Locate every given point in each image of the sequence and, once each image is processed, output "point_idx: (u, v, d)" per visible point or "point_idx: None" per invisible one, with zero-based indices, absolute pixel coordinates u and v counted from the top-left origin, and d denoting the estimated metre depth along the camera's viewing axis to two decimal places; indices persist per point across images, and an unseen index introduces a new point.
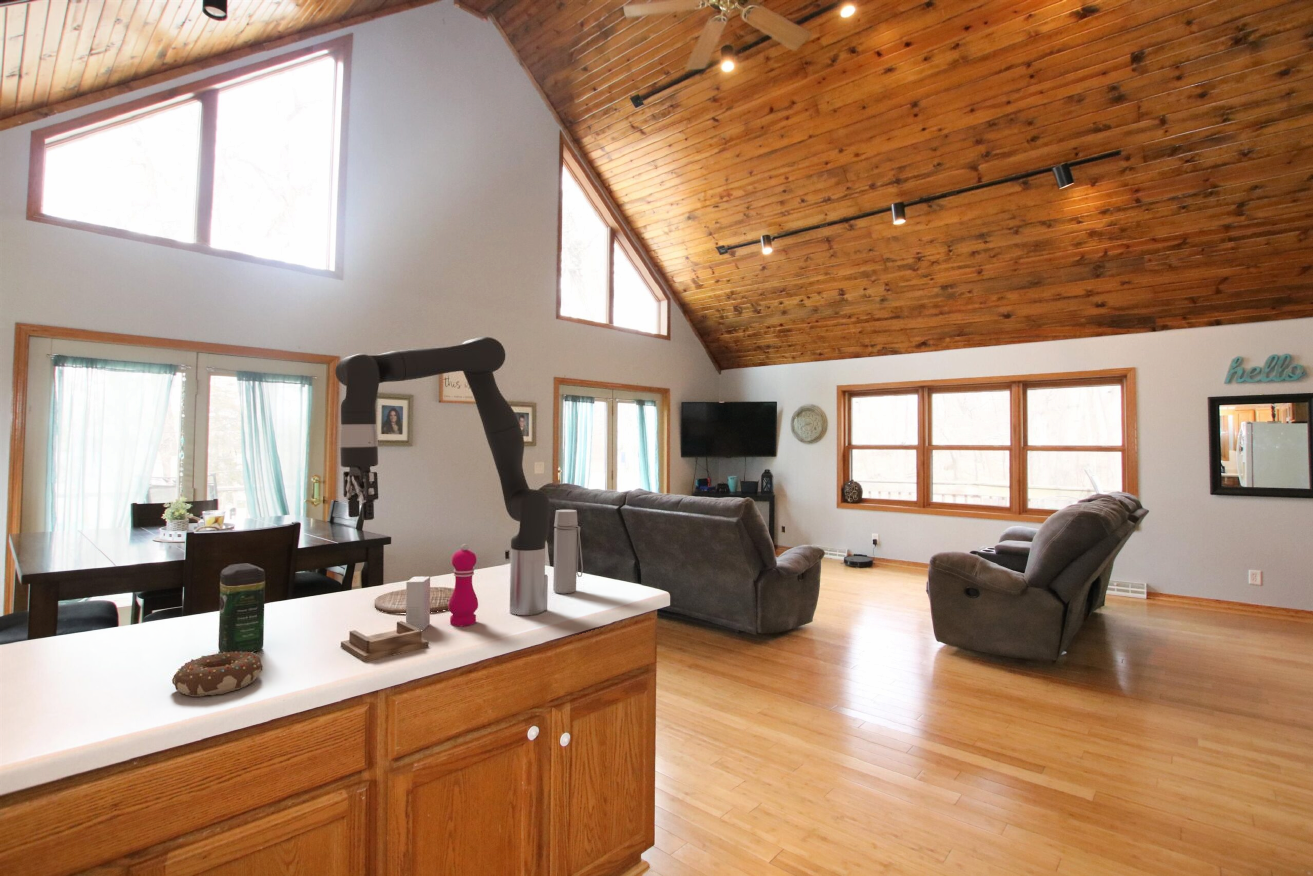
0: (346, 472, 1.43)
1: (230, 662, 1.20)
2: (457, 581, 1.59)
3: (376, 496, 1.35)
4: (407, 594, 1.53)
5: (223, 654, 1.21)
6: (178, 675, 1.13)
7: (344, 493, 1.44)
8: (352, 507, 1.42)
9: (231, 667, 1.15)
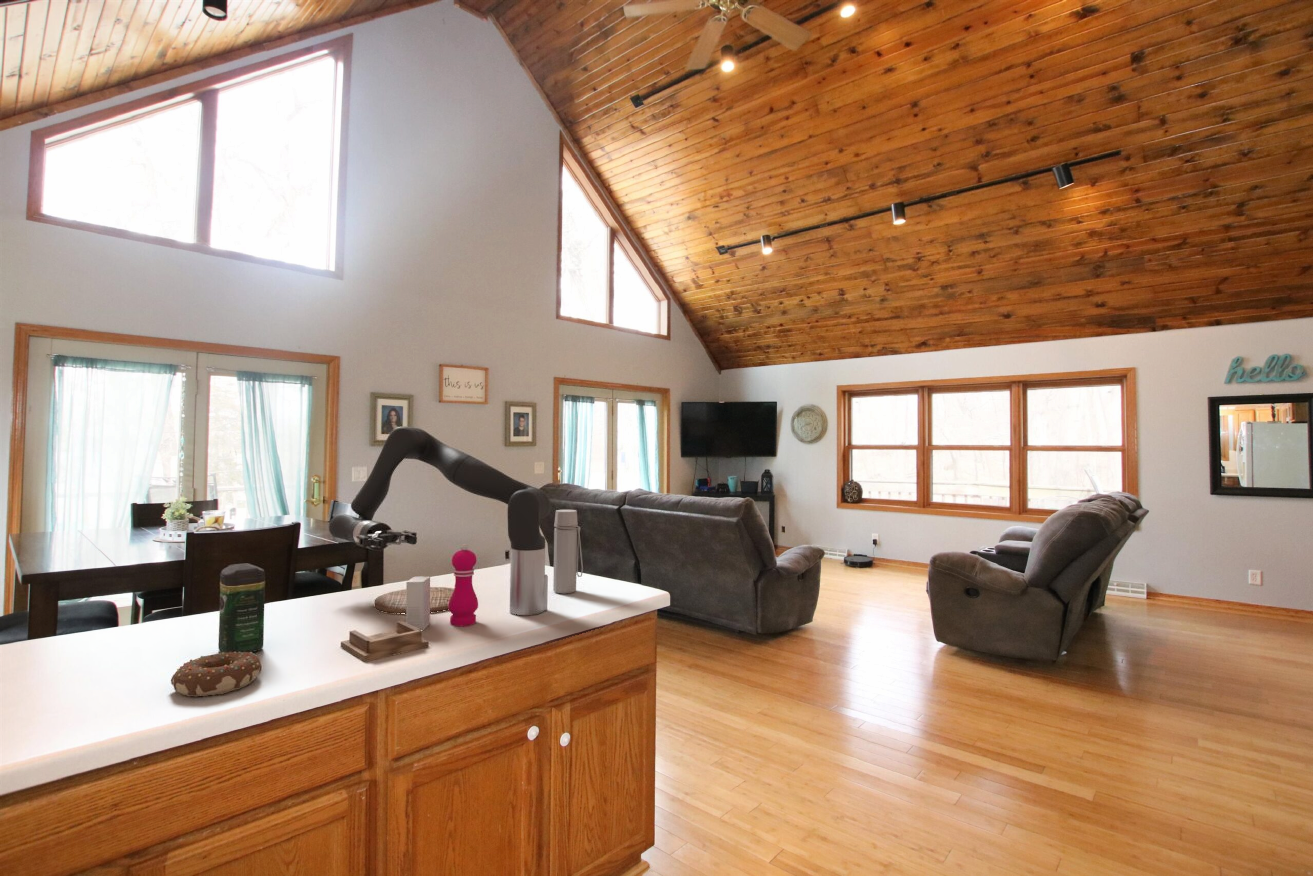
0: None
1: (229, 662, 1.20)
2: (457, 581, 1.59)
3: (362, 539, 1.62)
4: (407, 594, 1.53)
5: (222, 654, 1.21)
6: (177, 675, 1.13)
7: None
8: (409, 541, 1.68)
9: (230, 667, 1.15)
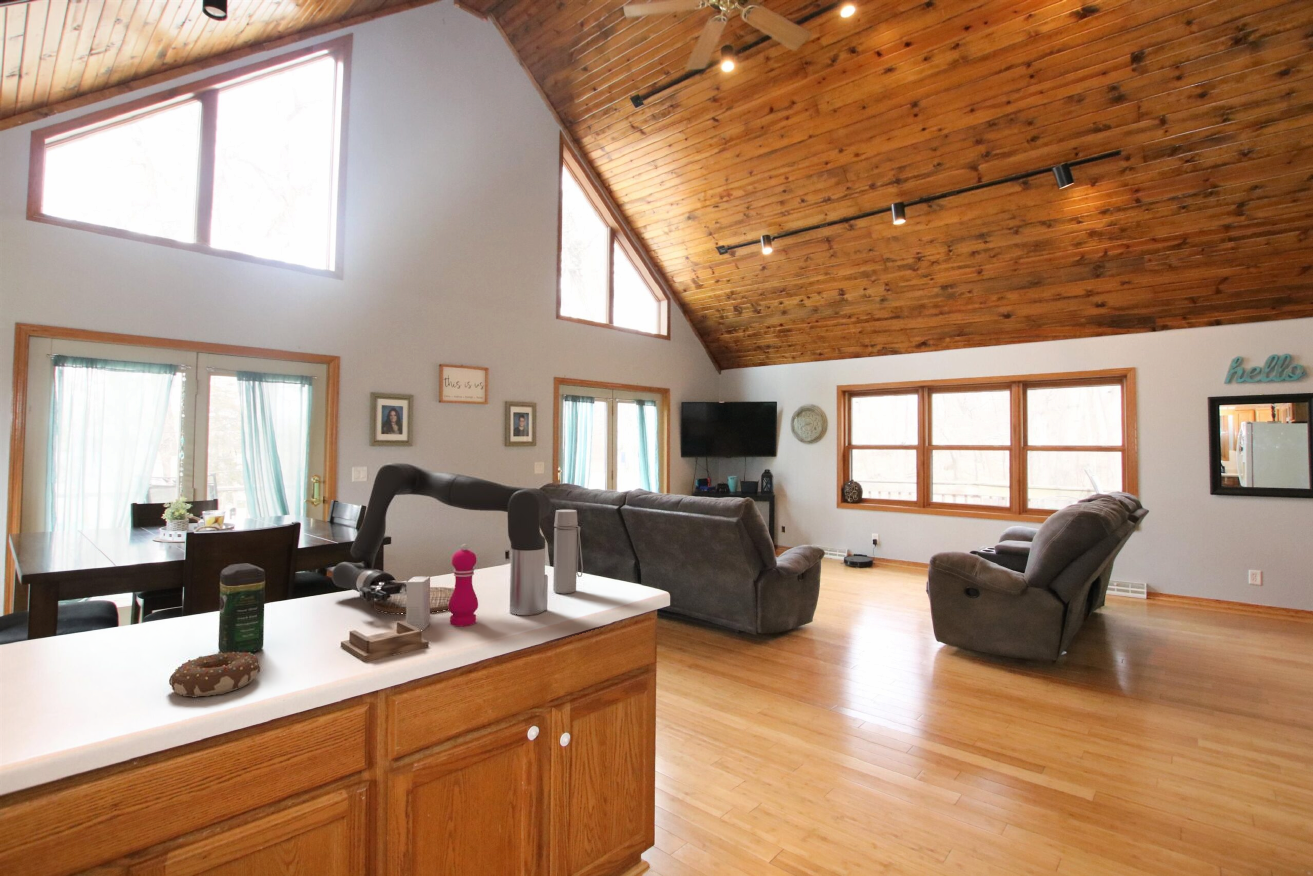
0: None
1: (227, 663, 1.20)
2: (457, 581, 1.59)
3: (366, 592, 1.60)
4: (407, 594, 1.53)
5: (220, 655, 1.21)
6: (175, 676, 1.12)
7: None
8: None
9: (228, 668, 1.14)
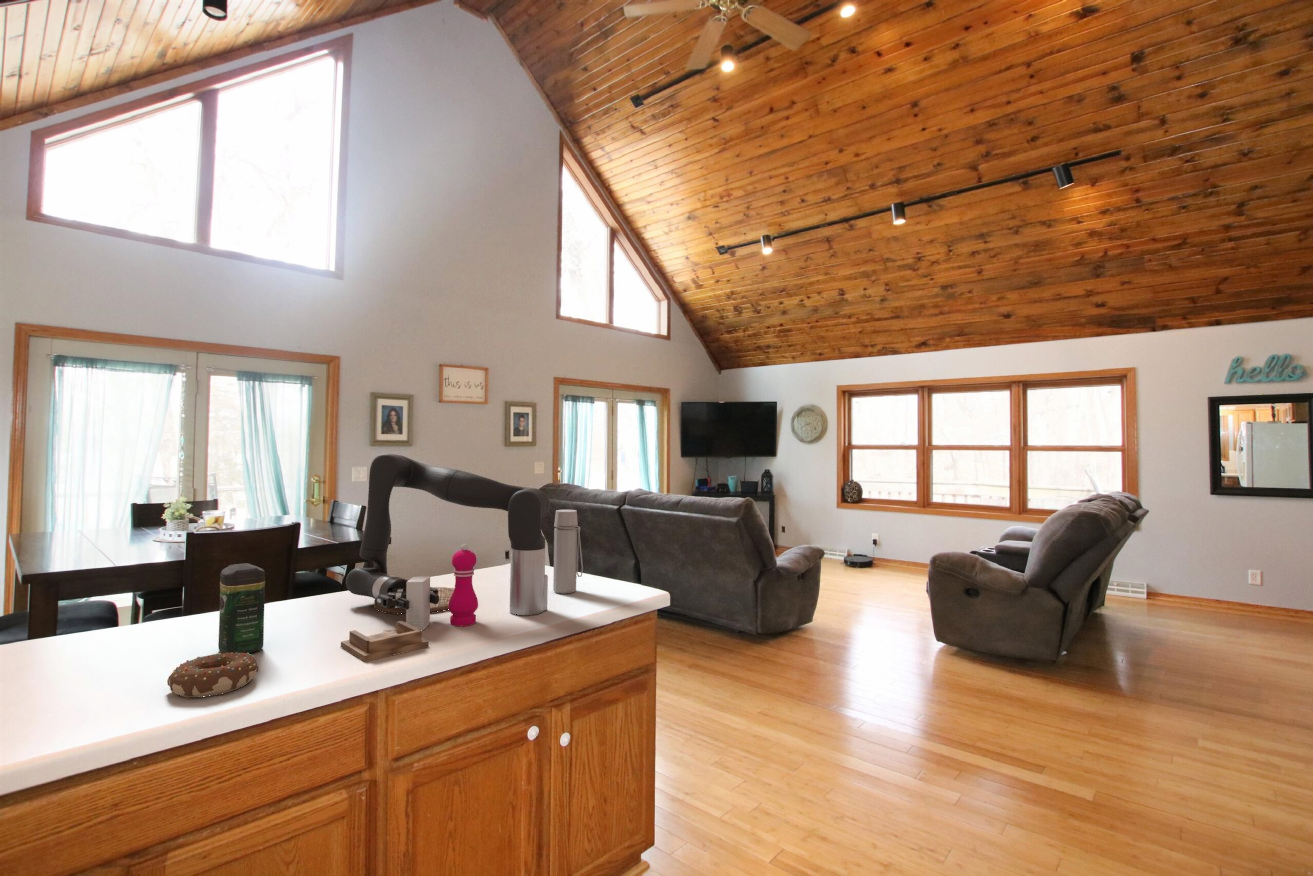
0: None
1: (226, 663, 1.20)
2: (457, 581, 1.59)
3: (386, 600, 1.53)
4: (407, 594, 1.53)
5: (218, 655, 1.21)
6: (173, 676, 1.12)
7: None
8: (431, 600, 1.58)
9: (226, 668, 1.14)
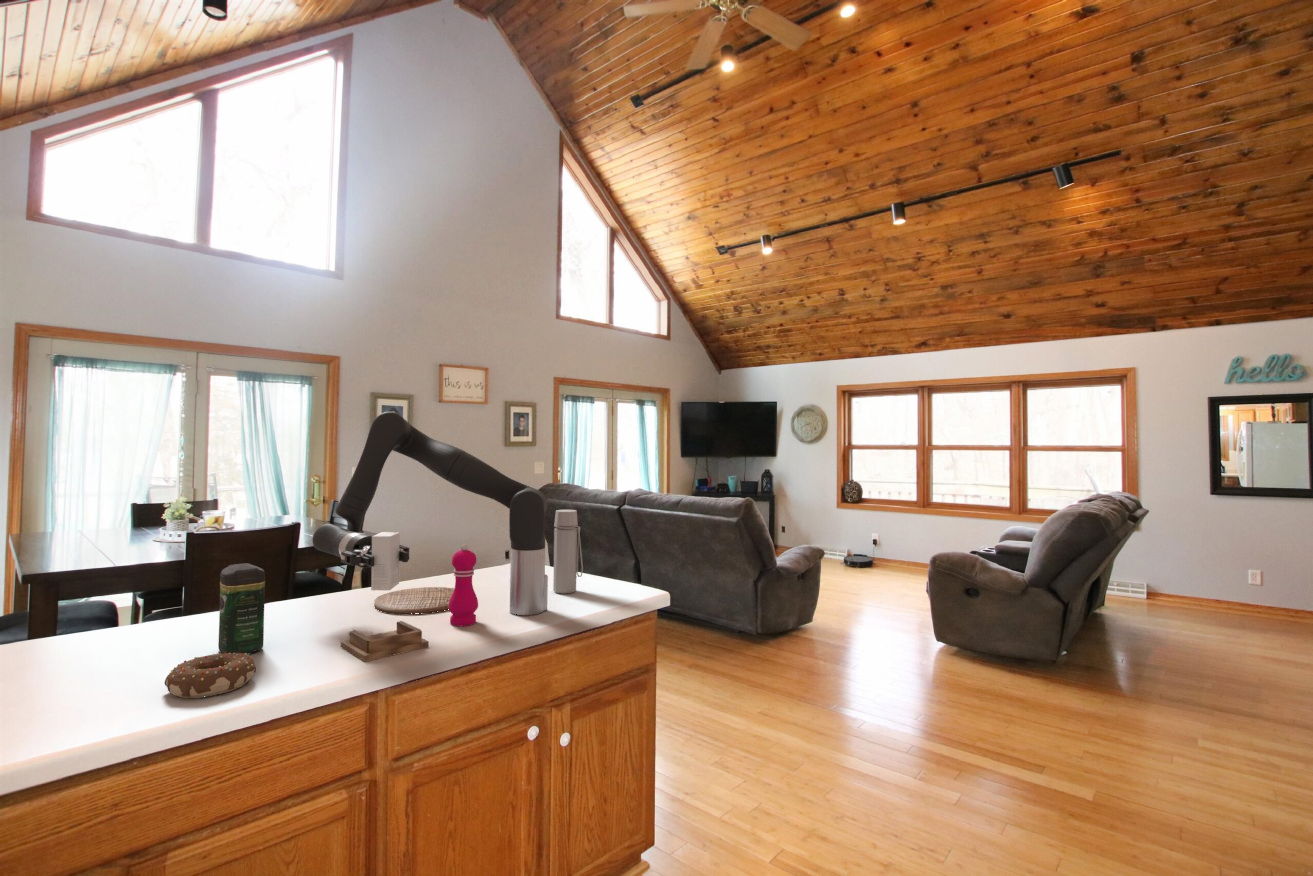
0: None
1: (223, 663, 1.19)
2: (457, 581, 1.59)
3: (350, 556, 1.39)
4: (372, 550, 1.38)
5: (216, 655, 1.20)
6: (170, 677, 1.12)
7: None
8: (400, 558, 1.44)
9: (224, 668, 1.14)
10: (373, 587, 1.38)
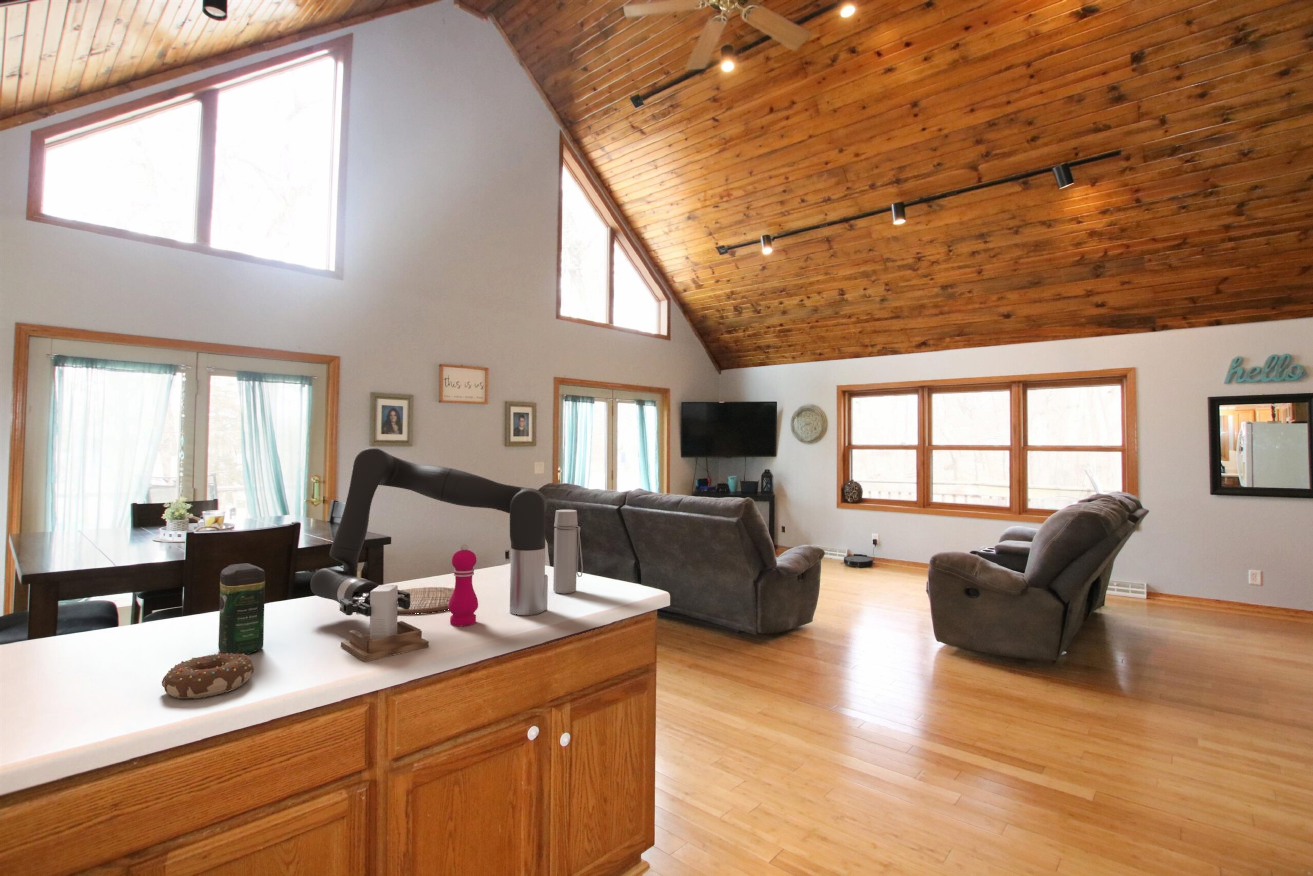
0: None
1: (221, 664, 1.19)
2: (457, 581, 1.59)
3: (346, 605, 1.38)
4: (371, 605, 1.38)
5: (214, 656, 1.20)
6: (168, 677, 1.12)
7: None
8: (402, 605, 1.44)
9: (221, 669, 1.14)
10: None
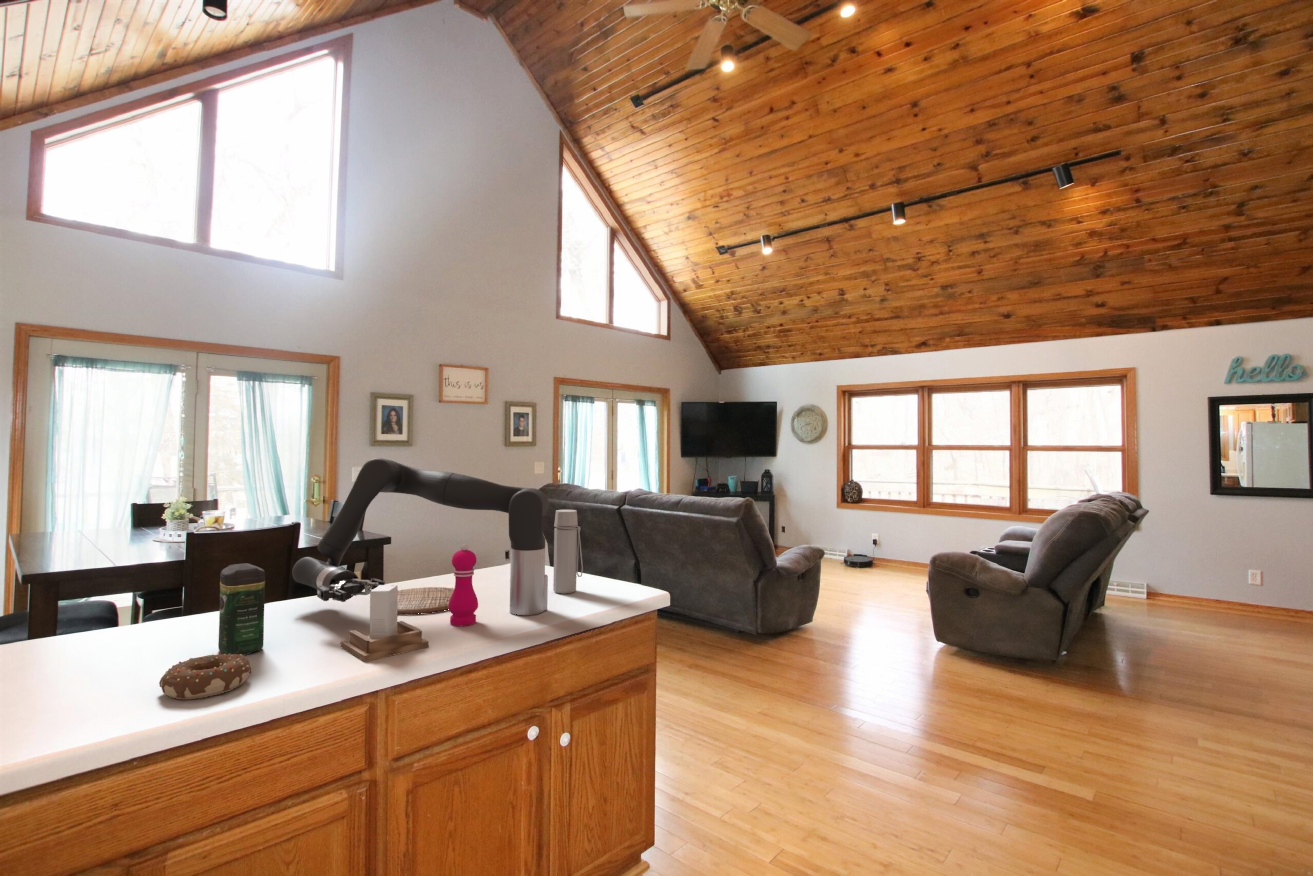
0: None
1: (218, 664, 1.19)
2: (457, 581, 1.59)
3: (323, 592, 1.47)
4: (371, 605, 1.38)
5: (211, 656, 1.20)
6: (165, 678, 1.11)
7: None
8: None
9: (219, 670, 1.13)
10: None
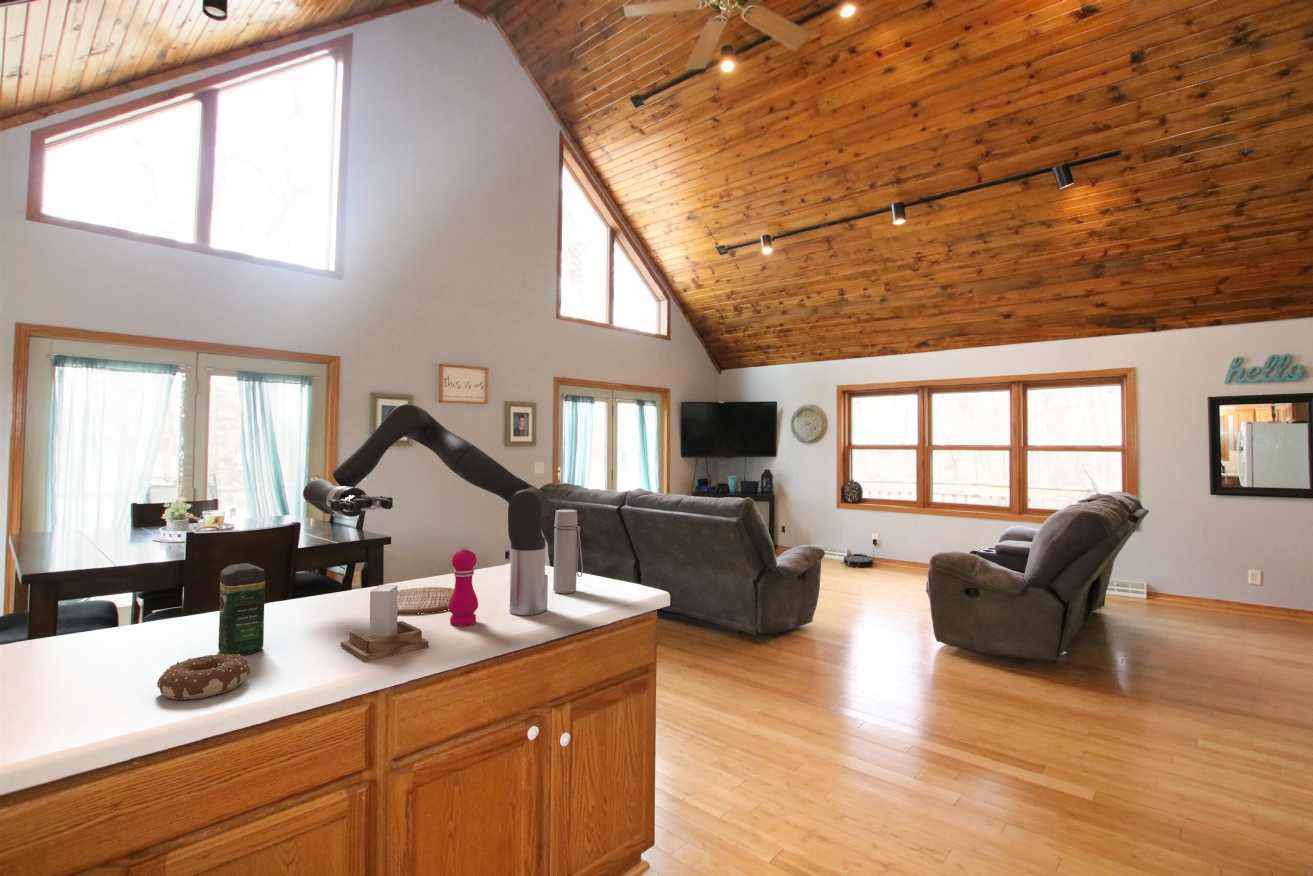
0: None
1: (216, 665, 1.18)
2: (457, 581, 1.59)
3: (333, 502, 1.52)
4: (371, 605, 1.38)
5: (209, 657, 1.20)
6: (163, 678, 1.11)
7: None
8: (384, 505, 1.58)
9: (217, 670, 1.13)
10: None
